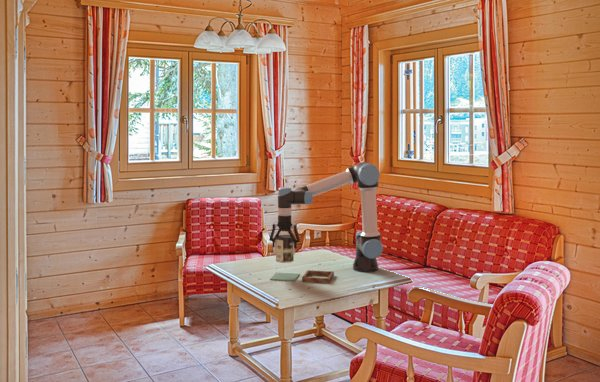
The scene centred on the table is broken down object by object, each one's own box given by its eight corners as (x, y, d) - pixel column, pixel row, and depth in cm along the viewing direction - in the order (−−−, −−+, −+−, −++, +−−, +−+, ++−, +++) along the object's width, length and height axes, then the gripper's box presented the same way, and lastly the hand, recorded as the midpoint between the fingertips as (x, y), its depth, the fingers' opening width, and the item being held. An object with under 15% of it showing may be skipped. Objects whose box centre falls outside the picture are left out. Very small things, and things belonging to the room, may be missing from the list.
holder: (333, 275, 338) (333, 271, 337) (329, 283, 323) (329, 278, 322) (307, 274, 341) (307, 270, 341) (302, 281, 326) (302, 277, 326)
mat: (299, 274, 340) (299, 273, 340) (294, 281, 327) (294, 280, 326) (276, 273, 343) (276, 272, 343) (270, 280, 329) (270, 278, 329)
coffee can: (295, 259, 337) (295, 235, 336) (291, 263, 327) (291, 238, 326) (277, 258, 340) (277, 234, 338) (273, 262, 329) (273, 237, 328)
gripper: (263, 215, 329) (263, 254, 332) (302, 216, 324) (302, 256, 327) (267, 213, 336) (267, 251, 339) (305, 214, 331) (305, 253, 334)
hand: (284, 253), depth 333 cm, fingers closed on coffee can, 10 cm apart
